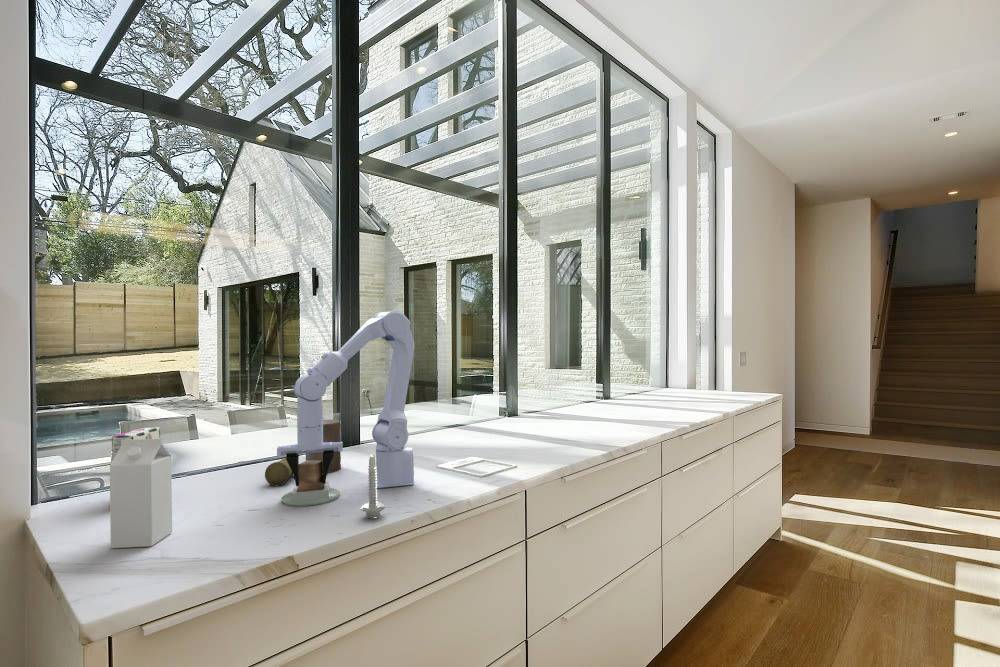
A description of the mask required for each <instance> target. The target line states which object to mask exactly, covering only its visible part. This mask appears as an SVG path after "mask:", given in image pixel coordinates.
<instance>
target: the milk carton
mask: <svg viewBox="0 0 1000 667" xmlns="http://www.w3.org/2000/svg"><path fill="white" fill-rule="evenodd" d="M162 441H163V440H162V438H160V439H130V440H121V447H120V449H119V450H118V452H117V454H116V456H115V457H114V459H113V461H111V463H110V464H109V498H110V499H109V501H110V502H109V507H110V508H109V512H110V513H109V514H110V515H109V516H110V517H109V518H110V520H109V521H110V548H111V549H121V548H122V549H124V548H142V547H143V548H144V547H152V546H154V545H155V544H157V543H158V542H160V541H161V540H163V539H164V538H166V537H168V536H169V535H170V534H172V533H173V498H172V496H173V495H172V492H173V491H172V490H173V489H172V488H173V487H172V483H173V482H172V479H173V478H172V475H173V474H172V455H171V454H170V452H169V451H168V450H167V449H166V448H165V446H164V445H163V444H162V443H163V442H162Z"/></svg>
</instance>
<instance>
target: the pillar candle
mask: <svg viewBox="0 0 1000 667" xmlns="http://www.w3.org/2000/svg"><path fill="white" fill-rule="evenodd" d="M323 442H341V423H340V420H339V419H323ZM341 456H342V455H341V451H340V452H338V451H334V456H333V459H332V461H331V463H330V466H329V469H328V472H327V473H333V472H337V471H339V470H341V469H342V464H341V462H342V461H341V459H342V457H341ZM307 460H309V461H323V452H319V453H306V454H305V461H307Z"/></svg>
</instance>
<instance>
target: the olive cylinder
mask: <svg viewBox="0 0 1000 667" xmlns="http://www.w3.org/2000/svg"><path fill="white" fill-rule="evenodd" d="M292 476H294V475H293V473H292V470H291V468H290V466H289V464H288V462H287V460H286V457H284V458H282V459H280V460H279V461H276V462H273V463H271V464H268V466H267V467H266V469H265V472H264V477H265V480H266V482H267V483H268V484H269V485H271V486H273V487H274V486H275V487H277V486H276V485H280V486H281V485H284V484H285V483H286V482H287V481H288V480H289V478H290V477H292Z"/></svg>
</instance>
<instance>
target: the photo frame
mask: <svg viewBox="0 0 1000 667" xmlns="http://www.w3.org/2000/svg"><path fill="white" fill-rule="evenodd" d="M485 461H486V463H490V462H491V464H496V465H502V466H507V467H504V468H500V469H496V470H493V471H490V472H486V473H482V474H481V473H480V474H479V473H476V472H470V471H466V470H463V469H462V470H461V469H458V467H459V468H462V466H463V467H467V466H470V464H471V465H474V463H475V464H478V463H481V462H485ZM466 465H467V466H466ZM437 467H440V468H439V469H441V468H444V469H443V470H446V469H447V470H446V471H450V470H452V471H451V472H455V471H456V472H455V473H459V472H460V474H463V473H465V475H468V474H470V475H469V476H472V475H474V476H473V477H477V476H479V477H478V478H483V476H485V477H487V475H488V476H491V475H490V474H492V475H494V474H493V473H495V474H498V473H501V471H502V472H505V471H509V470H511V469H515V468H518V464H513V463H507V462H503V461H498V460H497V461H496V460H491V459H486V458H481V457H475V456H469V457H466V458H462V459H457V460H455V461H449V462H446V463H441V464H438V465H436V468H437ZM454 468H455V469H454ZM508 469H509V470H508ZM504 470H505V471H504ZM497 472H498V473H497Z"/></svg>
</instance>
